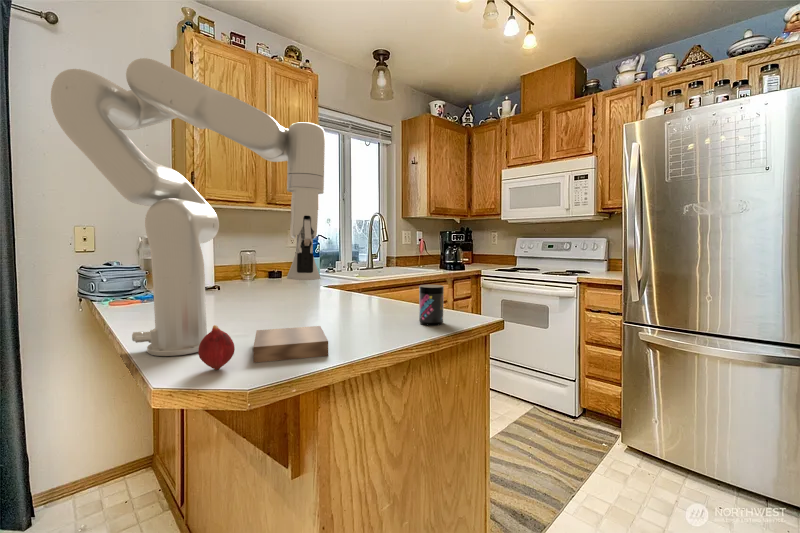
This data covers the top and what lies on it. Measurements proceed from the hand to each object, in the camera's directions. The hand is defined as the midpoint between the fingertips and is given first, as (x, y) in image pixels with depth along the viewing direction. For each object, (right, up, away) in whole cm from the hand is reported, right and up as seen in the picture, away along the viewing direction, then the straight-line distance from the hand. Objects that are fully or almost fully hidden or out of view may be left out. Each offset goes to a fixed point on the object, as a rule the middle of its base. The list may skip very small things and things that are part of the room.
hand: (303, 270), depth 83 cm
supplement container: (+29, -15, +24) cm, 41 cm away
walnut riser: (-3, -17, -1) cm, 17 cm away
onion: (-12, -18, -13) cm, 25 cm away
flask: (0, -2, 0) cm, 2 cm away
